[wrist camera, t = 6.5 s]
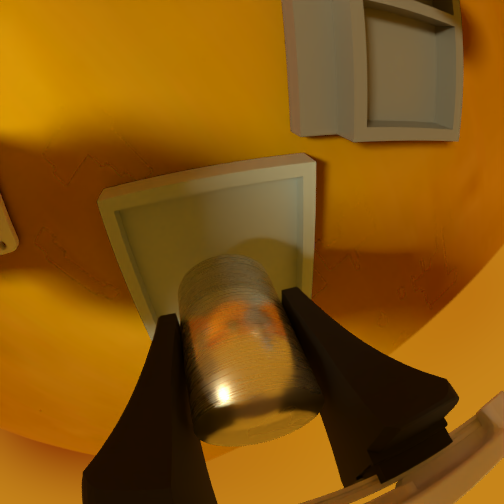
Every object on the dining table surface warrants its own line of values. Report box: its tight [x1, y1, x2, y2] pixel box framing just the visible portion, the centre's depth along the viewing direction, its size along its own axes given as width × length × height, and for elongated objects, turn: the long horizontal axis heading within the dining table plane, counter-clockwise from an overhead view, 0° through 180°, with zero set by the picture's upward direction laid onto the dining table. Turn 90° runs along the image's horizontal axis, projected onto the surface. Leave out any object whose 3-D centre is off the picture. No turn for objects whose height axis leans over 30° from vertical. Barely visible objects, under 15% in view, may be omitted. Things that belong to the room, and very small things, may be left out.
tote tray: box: [97, 153, 316, 340], centre depth 15 cm, size 9×9×1 cm
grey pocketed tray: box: [282, 0, 463, 142], centre depth 9 cm, size 10×13×3 cm
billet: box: [178, 254, 325, 446], centre depth 10 cm, size 4×4×6 cm
